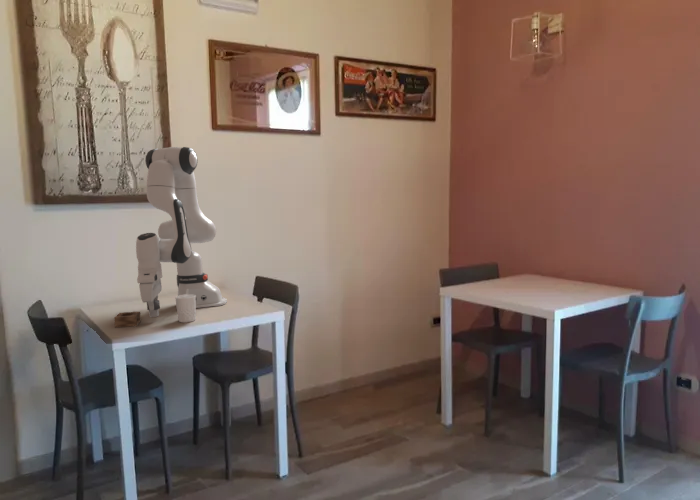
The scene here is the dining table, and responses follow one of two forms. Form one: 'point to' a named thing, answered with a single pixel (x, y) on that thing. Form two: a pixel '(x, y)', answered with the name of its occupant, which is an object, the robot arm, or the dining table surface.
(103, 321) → the dining table surface
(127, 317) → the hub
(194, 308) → the white cup
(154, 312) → the knob
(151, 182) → the robot arm
